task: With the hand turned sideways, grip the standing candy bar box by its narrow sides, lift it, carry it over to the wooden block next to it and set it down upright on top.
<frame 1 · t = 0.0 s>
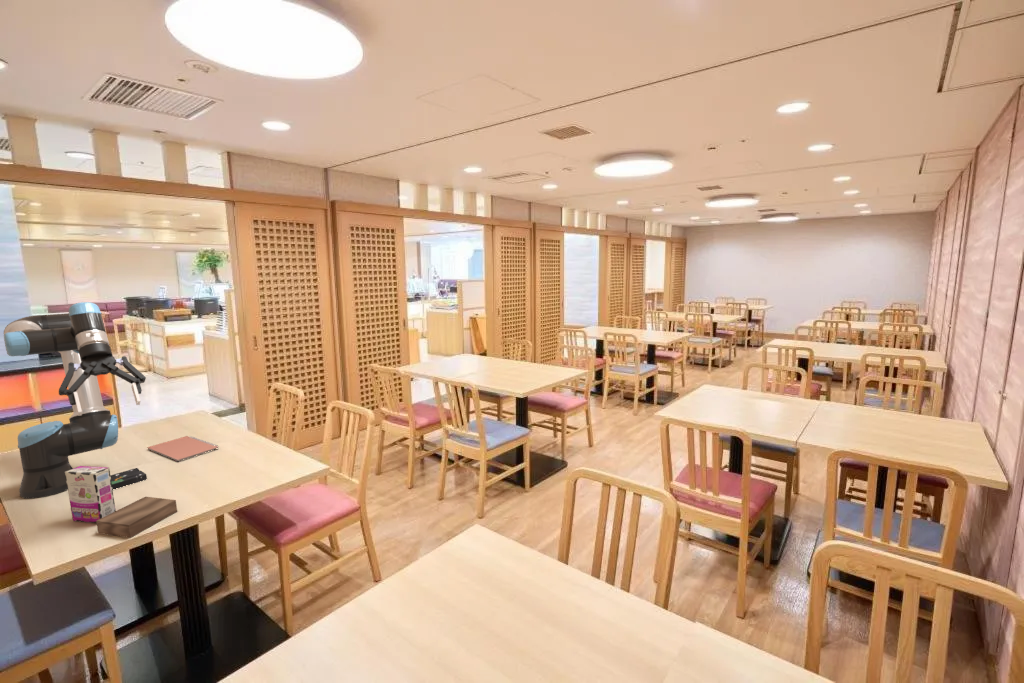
hand: (110, 408, 141), 36 cm above the table, tool tilted 35°, fingers open, 13 cm apart
disk drive: (118, 485, 171), on the table
notebook: (184, 450, 203), on the table
wooden block: (139, 521, 145), on the table
candy bar box: (95, 519, 147), on the table
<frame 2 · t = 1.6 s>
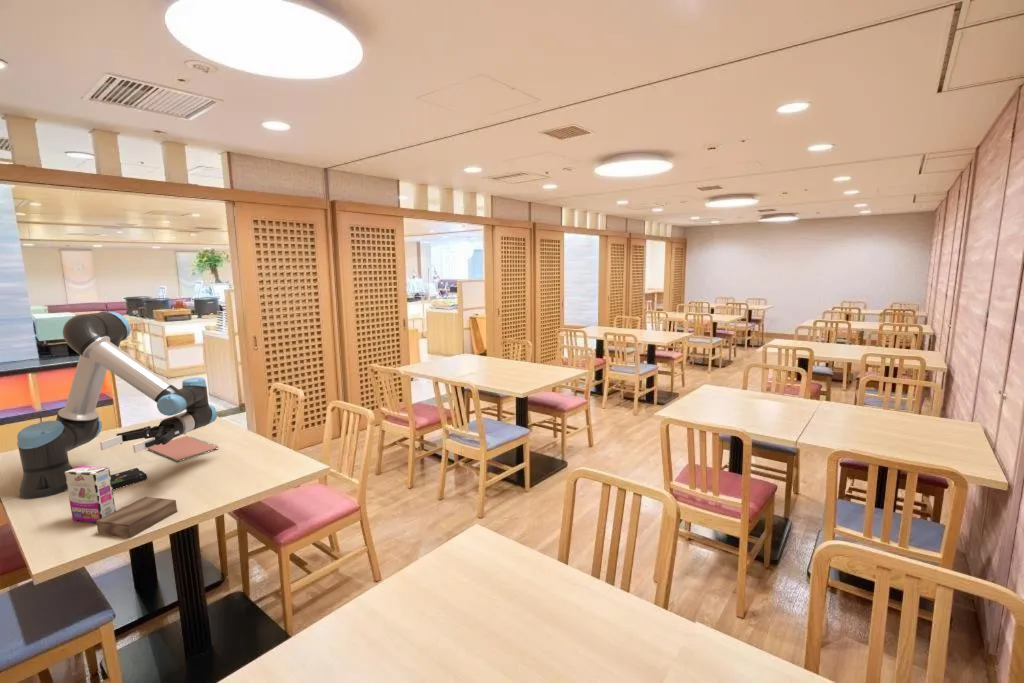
hand: (117, 447, 153), 20 cm above the table, tool horizontal, fingers open, 13 cm apart
nothing on the table moved.
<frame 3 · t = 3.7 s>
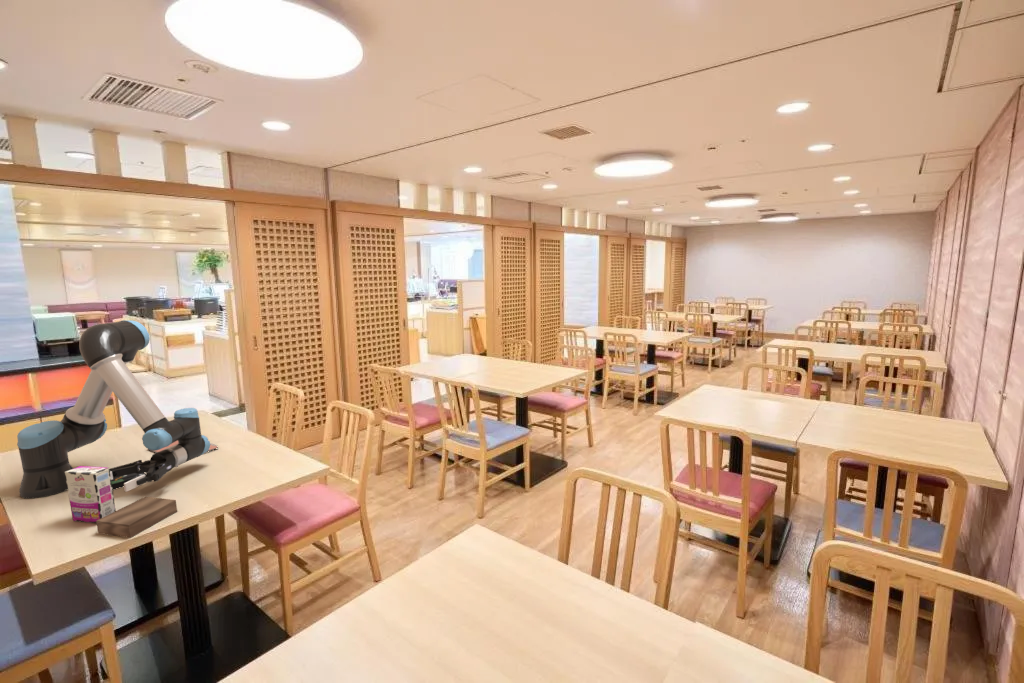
hand: (107, 485, 150), 9 cm above the table, tool horizontal, fingers open, 13 cm apart
nothing on the table moved.
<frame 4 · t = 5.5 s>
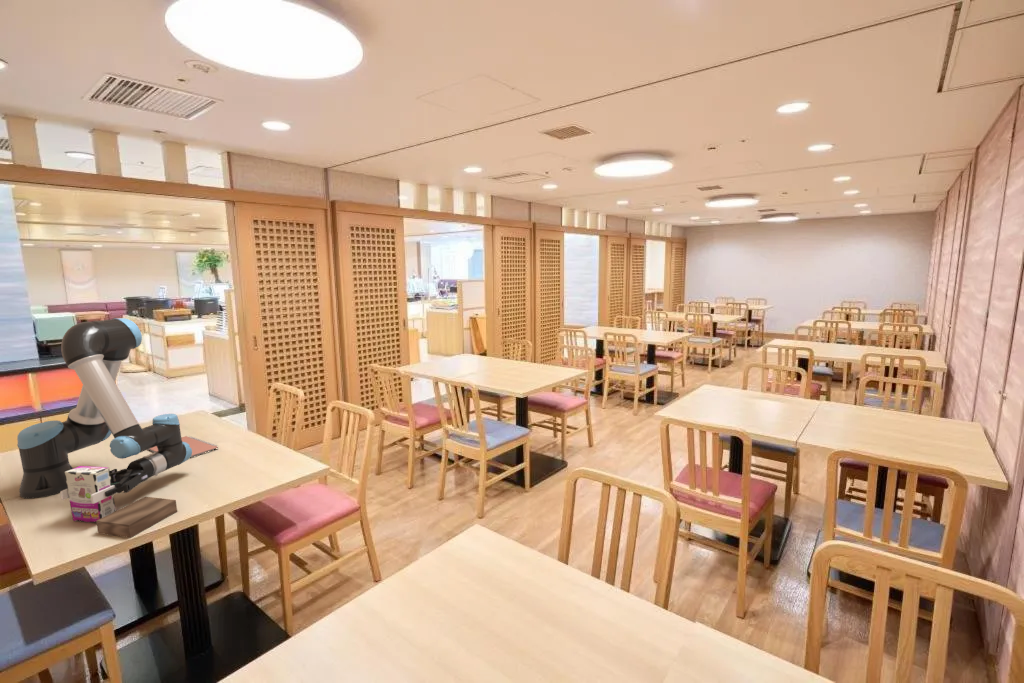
hand: (76, 497, 142), 9 cm above the table, tool horizontal, fingers closed on candy bar box, 11 cm apart
candy bar box: (95, 519, 147), on the table, touching gripper
everything else where it was.
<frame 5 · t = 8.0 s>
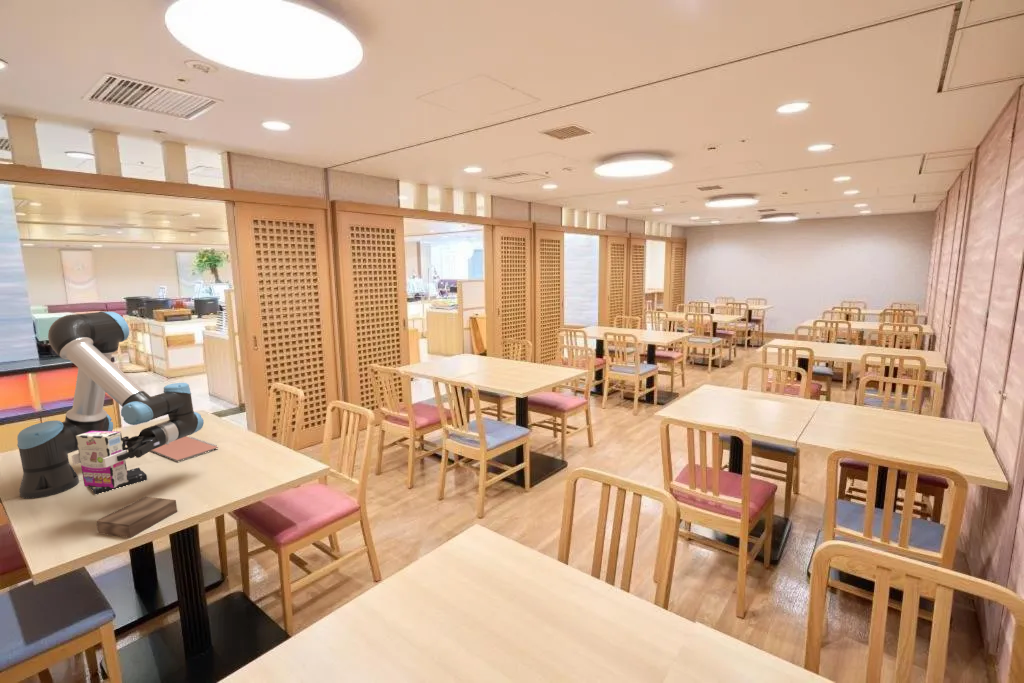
hand: (88, 461, 139), 21 cm above the table, tool horizontal, fingers closed on candy bar box, 11 cm apart
candy bar box: (107, 484, 144), point 12 cm above the table, touching gripper
everything else where it was.
when the fingers open (14 cm above the table, at t = 10.7 s): candy bar box stays where it is, resting on wooden block.
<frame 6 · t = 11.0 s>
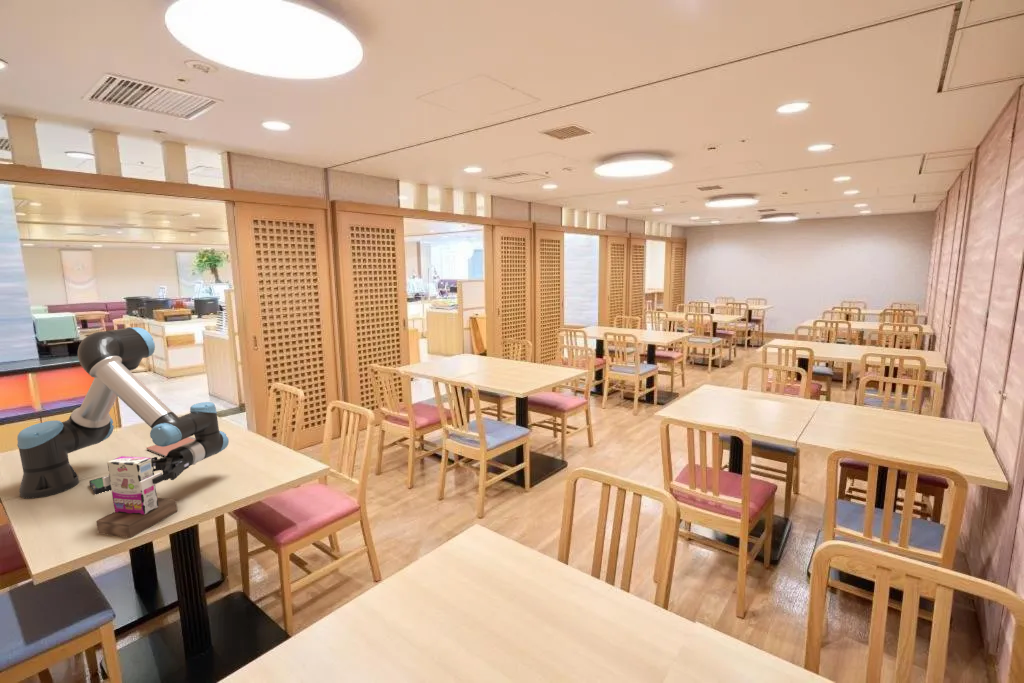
hand: (121, 484, 139), 14 cm above the table, tool horizontal, fingers open, 13 cm apart
candy bar box: (137, 510, 144), point 4 cm above the table, touching wooden block
everything else where it was.
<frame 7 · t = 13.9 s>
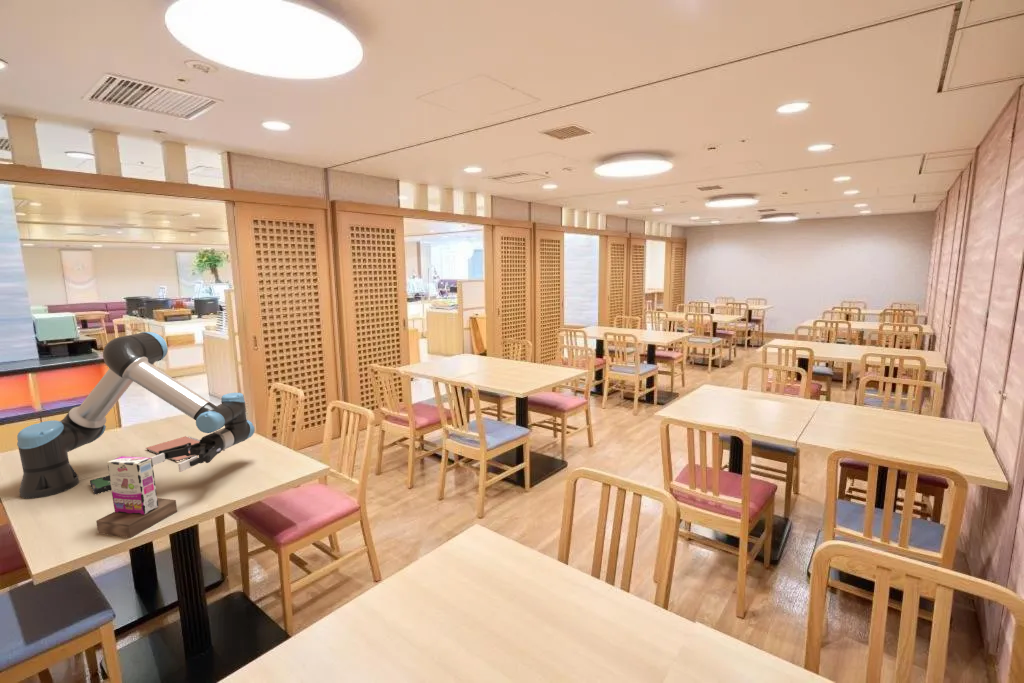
hand: (162, 466, 152), 14 cm above the table, tool horizontal, fingers open, 13 cm apart
nothing on the table moved.
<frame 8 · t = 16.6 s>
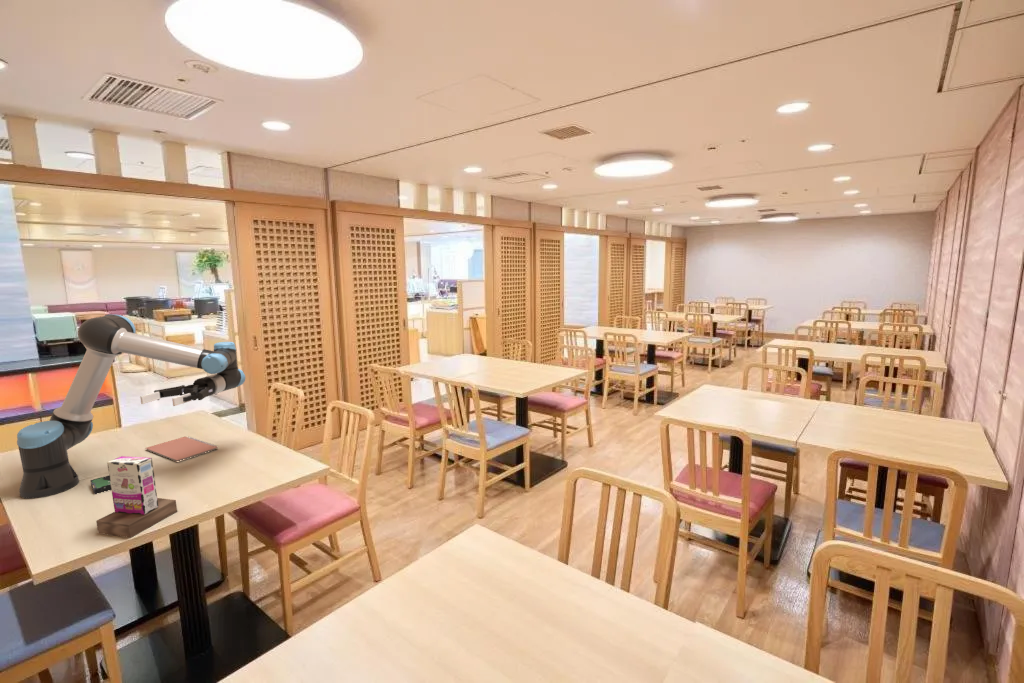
hand: (157, 401, 162), 32 cm above the table, tool horizontal, fingers open, 13 cm apart
nothing on the table moved.
at the end: candy bar box inside the target area on the wooden block (0.2 cm from its centre), point 3.8 cm above the wooden block's base; candy bar box tilted 0°; the gripper is holding nothing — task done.
